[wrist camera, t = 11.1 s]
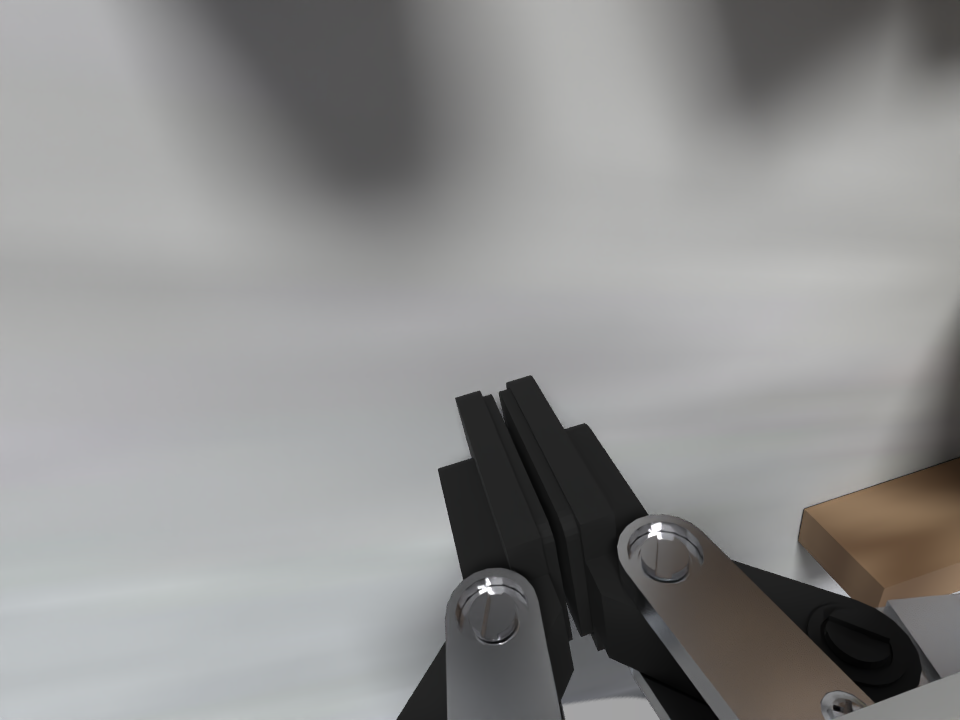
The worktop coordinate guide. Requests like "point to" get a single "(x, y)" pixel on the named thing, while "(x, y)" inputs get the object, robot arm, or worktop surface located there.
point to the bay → (891, 537)
